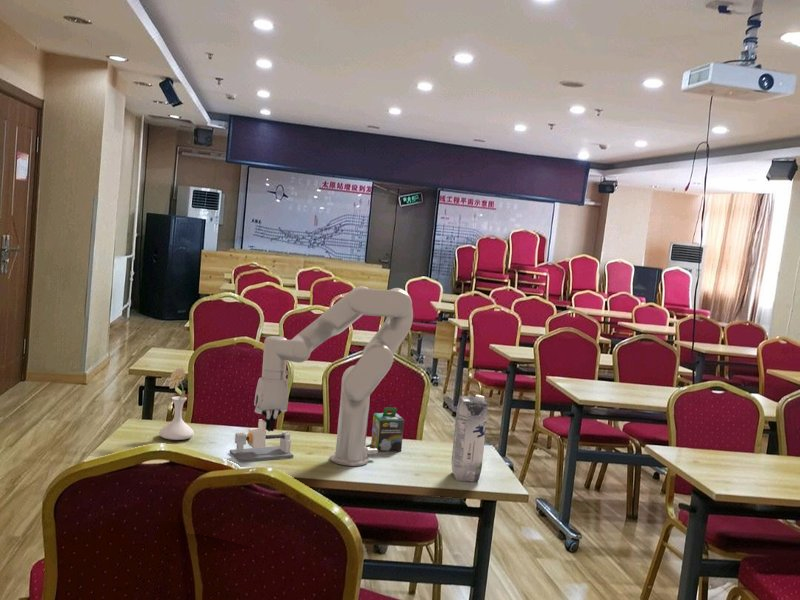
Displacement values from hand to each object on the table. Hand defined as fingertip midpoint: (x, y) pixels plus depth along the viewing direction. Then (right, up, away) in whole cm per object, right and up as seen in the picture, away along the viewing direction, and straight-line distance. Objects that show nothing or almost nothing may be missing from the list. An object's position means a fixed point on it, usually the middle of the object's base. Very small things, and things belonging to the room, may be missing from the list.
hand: (269, 430), depth 239 cm
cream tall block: (-4, -5, -2) cm, 6 cm away
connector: (-9, -7, -5) cm, 12 cm away
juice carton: (+63, -15, -2) cm, 65 cm away
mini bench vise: (-3, -8, -1) cm, 9 cm away
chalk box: (+37, -10, +22) cm, 45 cm away
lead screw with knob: (-1, -4, 0) cm, 4 cm away
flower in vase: (-33, -5, +9) cm, 34 cm away
